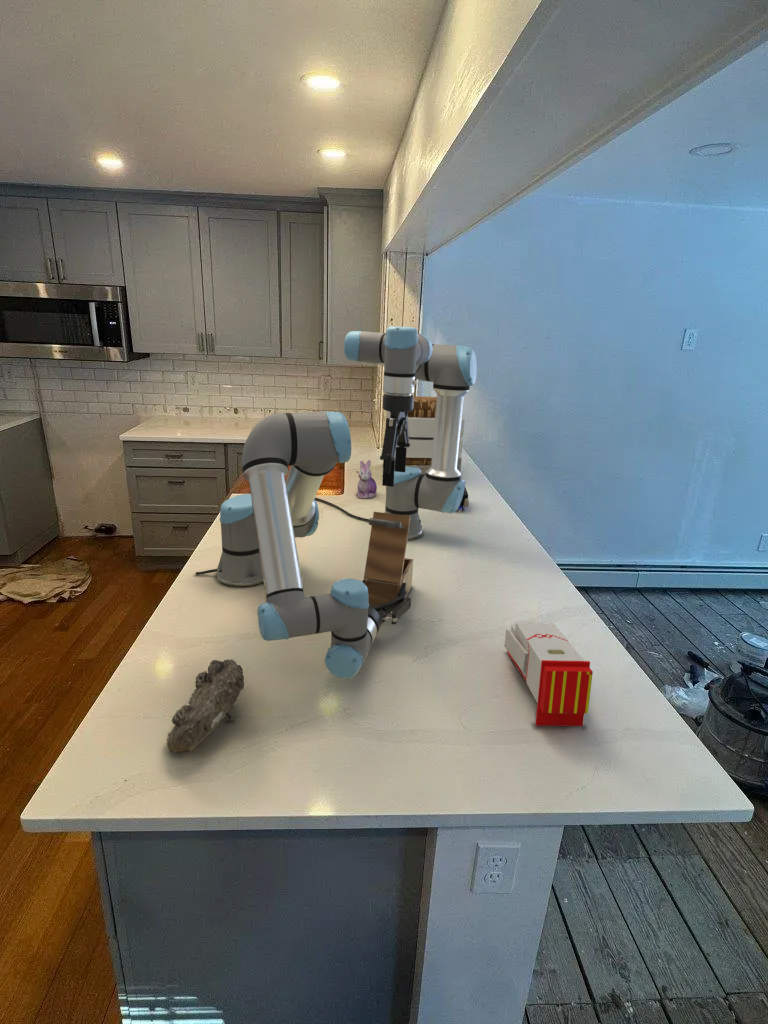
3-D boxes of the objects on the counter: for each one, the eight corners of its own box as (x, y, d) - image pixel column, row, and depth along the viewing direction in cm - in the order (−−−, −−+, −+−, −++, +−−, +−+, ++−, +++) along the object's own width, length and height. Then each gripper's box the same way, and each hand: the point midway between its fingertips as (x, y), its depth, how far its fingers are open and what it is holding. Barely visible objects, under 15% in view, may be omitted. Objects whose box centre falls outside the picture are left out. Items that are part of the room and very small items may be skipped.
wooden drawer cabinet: (382, 463, 289) (386, 382, 275) (445, 464, 293) (451, 384, 279) (390, 482, 257) (394, 392, 243) (460, 483, 261) (468, 394, 247)
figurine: (361, 500, 232) (362, 464, 227) (351, 492, 241) (352, 458, 236) (382, 497, 237) (383, 462, 232) (371, 490, 245) (372, 456, 240)
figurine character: (468, 516, 224) (463, 500, 237) (471, 498, 221) (465, 483, 234) (452, 515, 224) (447, 499, 237) (453, 498, 220) (449, 482, 234)
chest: (379, 581, 164) (380, 554, 161) (411, 586, 162) (413, 559, 159) (363, 609, 149) (364, 580, 146) (398, 615, 147) (400, 585, 144)
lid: (374, 512, 148) (367, 507, 140) (410, 516, 146) (405, 512, 138) (364, 578, 146) (356, 577, 138) (401, 583, 144) (395, 583, 136)
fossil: (192, 660, 117) (244, 628, 112) (224, 691, 120) (276, 661, 115) (142, 746, 98) (202, 712, 93) (182, 779, 101) (242, 748, 96)
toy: (550, 607, 134) (601, 667, 105) (545, 659, 137) (594, 732, 108) (499, 606, 134) (537, 666, 104) (495, 659, 137) (530, 731, 107)
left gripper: (315, 633, 132) (344, 590, 153) (408, 650, 127) (425, 603, 148) (315, 605, 130) (345, 565, 150) (410, 621, 125) (427, 577, 145)
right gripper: (402, 402, 124) (397, 494, 132) (423, 388, 147) (417, 467, 155) (369, 399, 126) (366, 490, 133) (395, 386, 149) (391, 464, 156)
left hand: (385, 584), depth 149 cm, fingers closed on chest, 10 cm apart
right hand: (394, 478), depth 144 cm, fingers open, 13 cm apart
